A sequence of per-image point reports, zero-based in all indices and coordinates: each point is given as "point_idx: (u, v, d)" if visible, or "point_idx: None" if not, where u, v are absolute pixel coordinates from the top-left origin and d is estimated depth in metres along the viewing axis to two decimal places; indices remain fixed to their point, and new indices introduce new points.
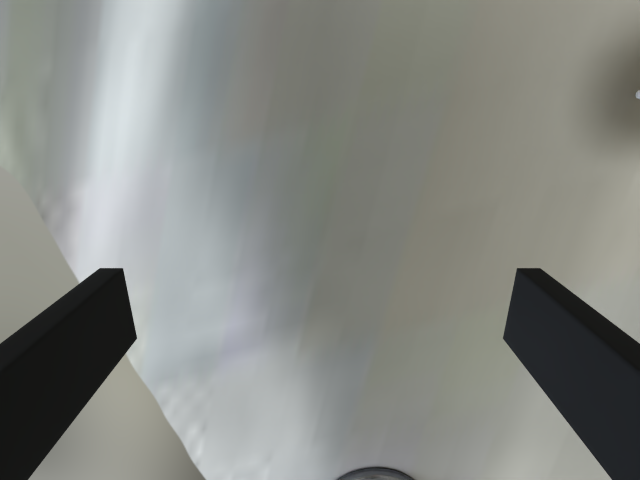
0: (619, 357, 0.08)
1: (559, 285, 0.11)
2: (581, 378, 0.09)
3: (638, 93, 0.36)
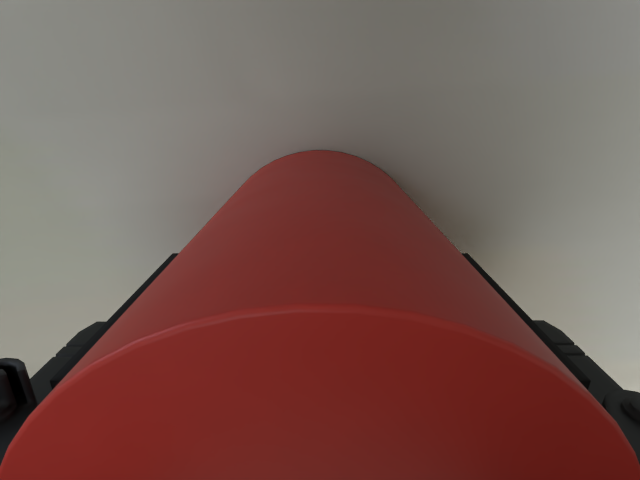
0: None
1: (478, 267, 0.12)
2: None
3: None
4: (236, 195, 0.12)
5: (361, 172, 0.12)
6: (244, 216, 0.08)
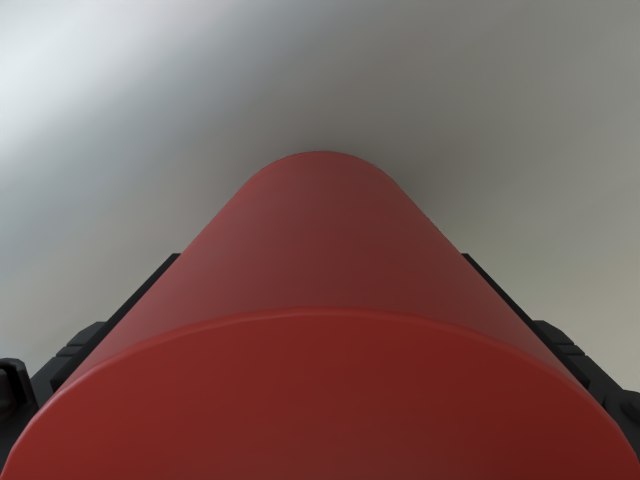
0: None
1: (478, 267, 0.12)
2: None
3: None
4: (237, 196, 0.12)
5: (362, 173, 0.12)
6: (245, 218, 0.08)
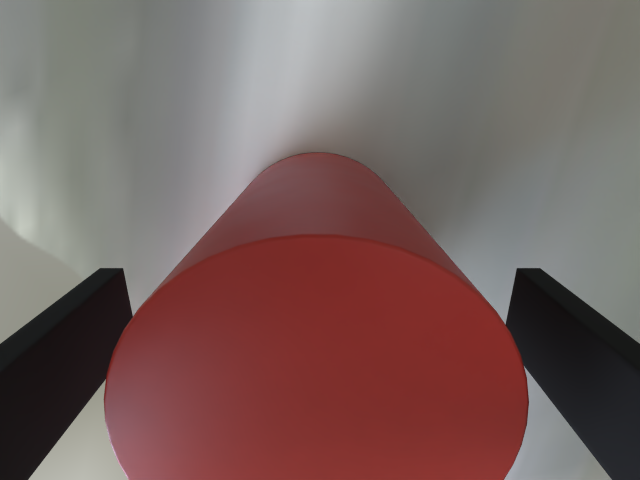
0: (619, 357, 0.08)
1: (559, 285, 0.11)
2: (581, 378, 0.09)
3: None
4: (250, 187, 0.14)
5: (350, 169, 0.15)
6: (261, 198, 0.10)
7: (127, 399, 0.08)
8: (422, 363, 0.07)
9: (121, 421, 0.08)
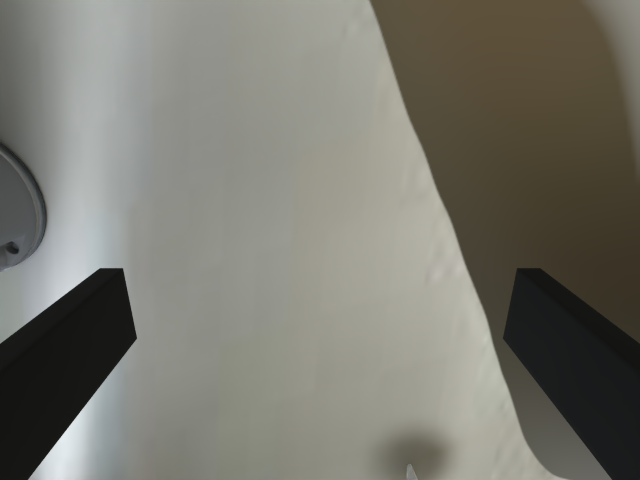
0: (619, 357, 0.08)
1: (559, 285, 0.11)
2: (581, 378, 0.09)
3: (407, 469, 0.51)
4: None
5: None
6: None
7: None
8: None
9: None
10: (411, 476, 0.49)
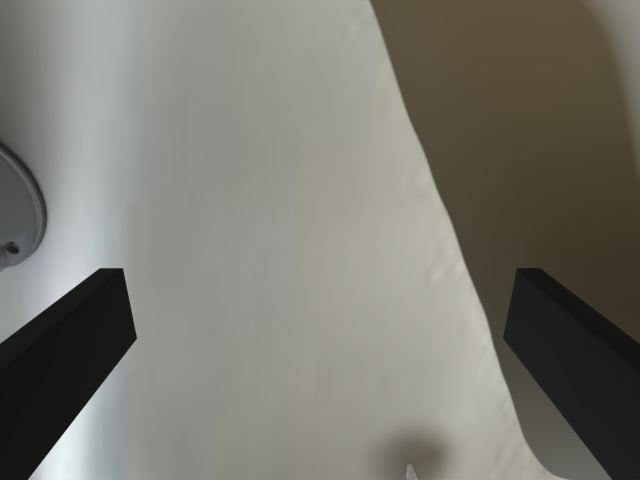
0: (619, 357, 0.08)
1: (559, 285, 0.11)
2: (581, 378, 0.09)
3: (407, 469, 0.51)
4: None
5: None
6: None
7: None
8: None
9: None
10: (411, 476, 0.49)
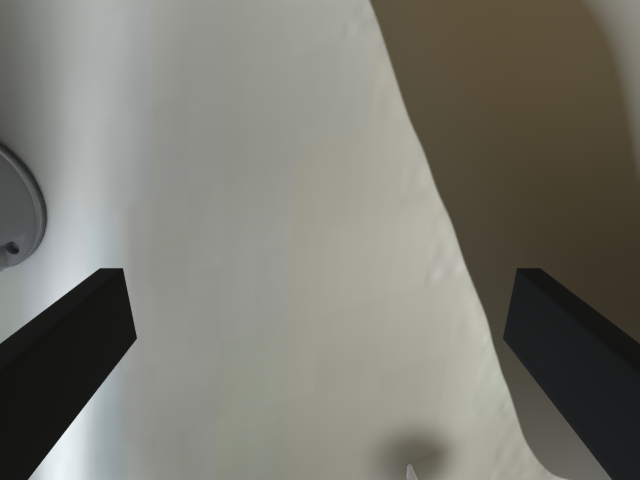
0: (619, 357, 0.08)
1: (559, 285, 0.11)
2: (581, 378, 0.09)
3: (407, 469, 0.51)
4: None
5: None
6: None
7: None
8: None
9: None
10: (411, 476, 0.49)
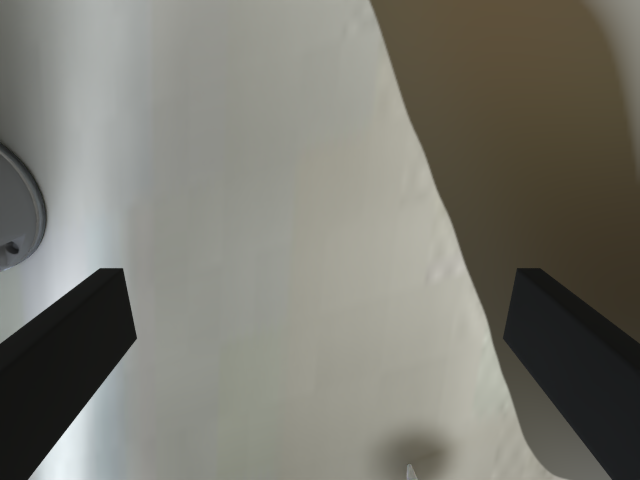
0: (619, 357, 0.08)
1: (559, 285, 0.11)
2: (581, 378, 0.09)
3: (407, 469, 0.51)
4: None
5: None
6: None
7: None
8: None
9: None
10: (411, 476, 0.49)
